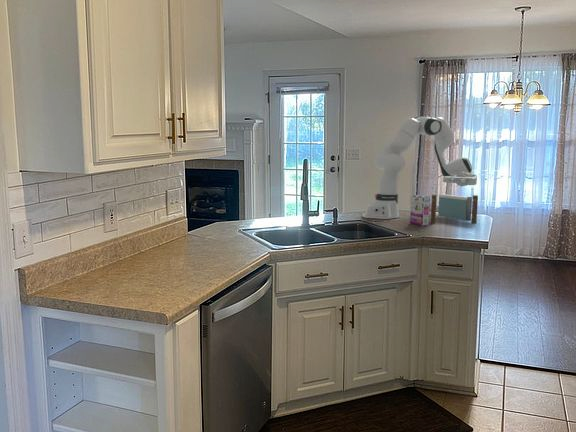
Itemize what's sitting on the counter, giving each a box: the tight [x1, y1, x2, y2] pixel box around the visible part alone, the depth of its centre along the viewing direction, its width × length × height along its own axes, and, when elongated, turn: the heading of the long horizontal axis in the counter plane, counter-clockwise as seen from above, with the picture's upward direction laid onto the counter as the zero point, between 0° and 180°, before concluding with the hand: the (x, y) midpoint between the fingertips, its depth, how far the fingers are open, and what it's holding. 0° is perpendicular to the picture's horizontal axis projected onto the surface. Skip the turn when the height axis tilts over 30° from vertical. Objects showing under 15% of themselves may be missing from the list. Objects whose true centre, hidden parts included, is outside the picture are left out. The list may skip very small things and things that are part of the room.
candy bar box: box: [409, 194, 431, 227], centre depth 314 cm, size 11×5×16 cm, turn 25°
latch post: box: [430, 194, 437, 224], centre depth 320 cm, size 2×2×16 cm
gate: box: [437, 193, 473, 222], centre depth 327 cm, size 23×2×14 cm, turn 35°
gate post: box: [471, 194, 479, 225], centre depth 318 cm, size 2×3×16 cm
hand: (456, 180), depth 340 cm, fingers open, 3 cm apart
